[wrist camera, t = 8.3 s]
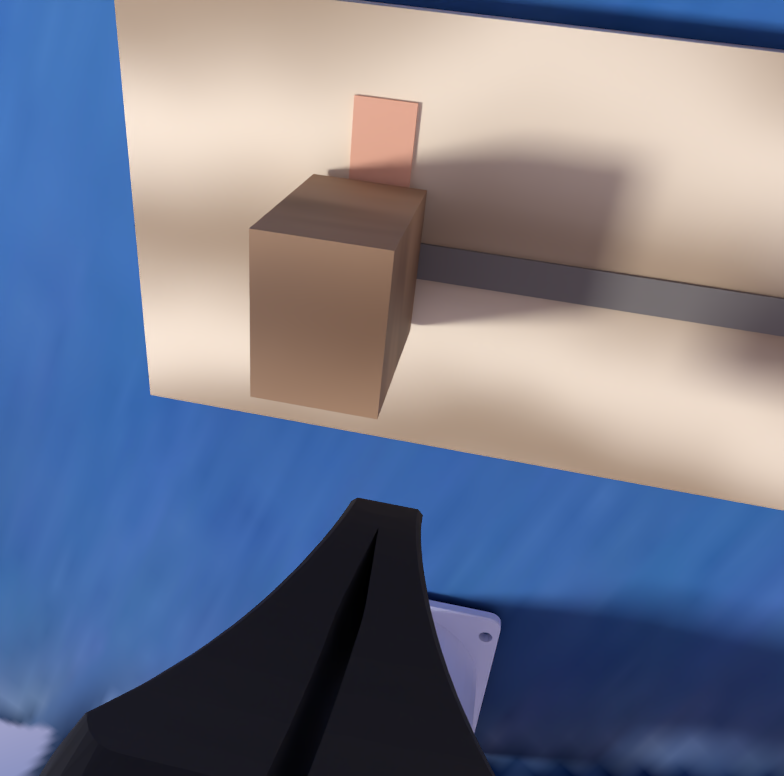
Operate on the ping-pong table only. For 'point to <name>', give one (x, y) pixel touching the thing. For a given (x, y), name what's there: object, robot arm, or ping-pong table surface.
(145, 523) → the ping-pong table surface
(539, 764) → the ping-pong table surface
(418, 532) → the robot arm
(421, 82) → the fader panel
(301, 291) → the fader knob
